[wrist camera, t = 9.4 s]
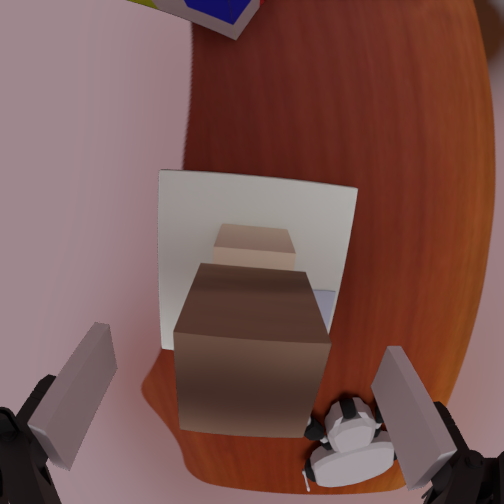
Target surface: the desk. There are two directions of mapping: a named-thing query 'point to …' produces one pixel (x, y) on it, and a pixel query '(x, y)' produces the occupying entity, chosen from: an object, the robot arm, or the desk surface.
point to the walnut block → (249, 352)
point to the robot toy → (348, 446)
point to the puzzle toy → (210, 13)
